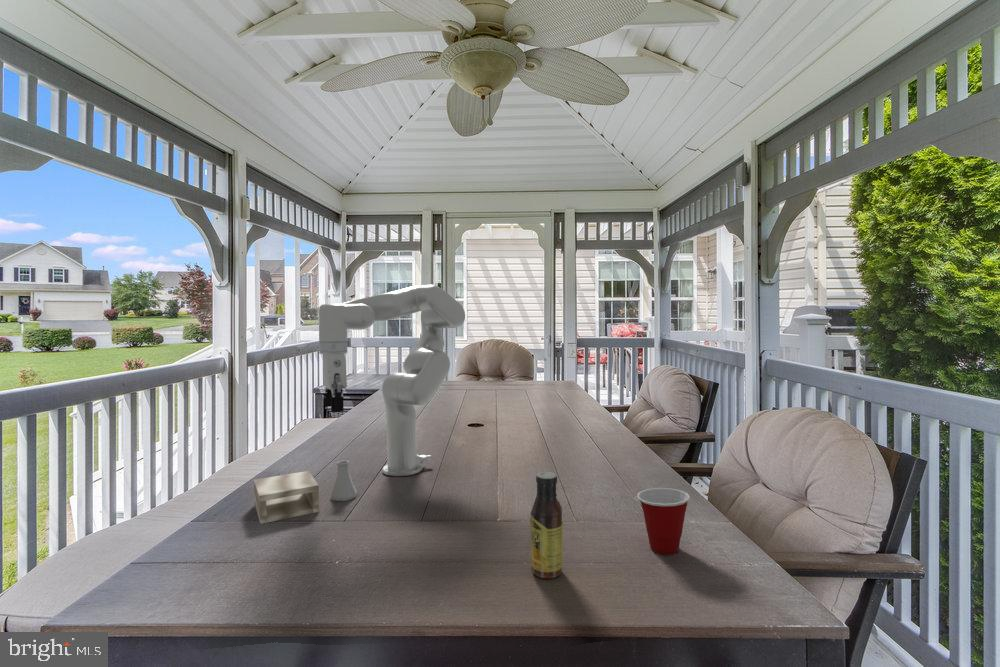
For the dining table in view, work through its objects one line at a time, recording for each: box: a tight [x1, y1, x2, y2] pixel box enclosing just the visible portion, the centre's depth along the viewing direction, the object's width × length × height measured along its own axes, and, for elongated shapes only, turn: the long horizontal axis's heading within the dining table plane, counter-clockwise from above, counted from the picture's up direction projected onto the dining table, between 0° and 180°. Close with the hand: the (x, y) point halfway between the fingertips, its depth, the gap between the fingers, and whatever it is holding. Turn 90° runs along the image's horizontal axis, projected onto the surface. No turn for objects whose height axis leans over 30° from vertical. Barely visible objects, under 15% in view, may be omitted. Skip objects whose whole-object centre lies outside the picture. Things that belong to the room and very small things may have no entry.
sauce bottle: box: [530, 471, 564, 579], centre depth 102 cm, size 7×6×20 cm
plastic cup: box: [636, 487, 691, 556], centre depth 111 cm, size 11×11×12 cm
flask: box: [329, 460, 358, 502], centre depth 145 cm, size 7×7×10 cm
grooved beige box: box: [253, 470, 320, 525], centre depth 137 cm, size 14×14×7 cm
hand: (333, 408), depth 146 cm, fingers open, 9 cm apart
